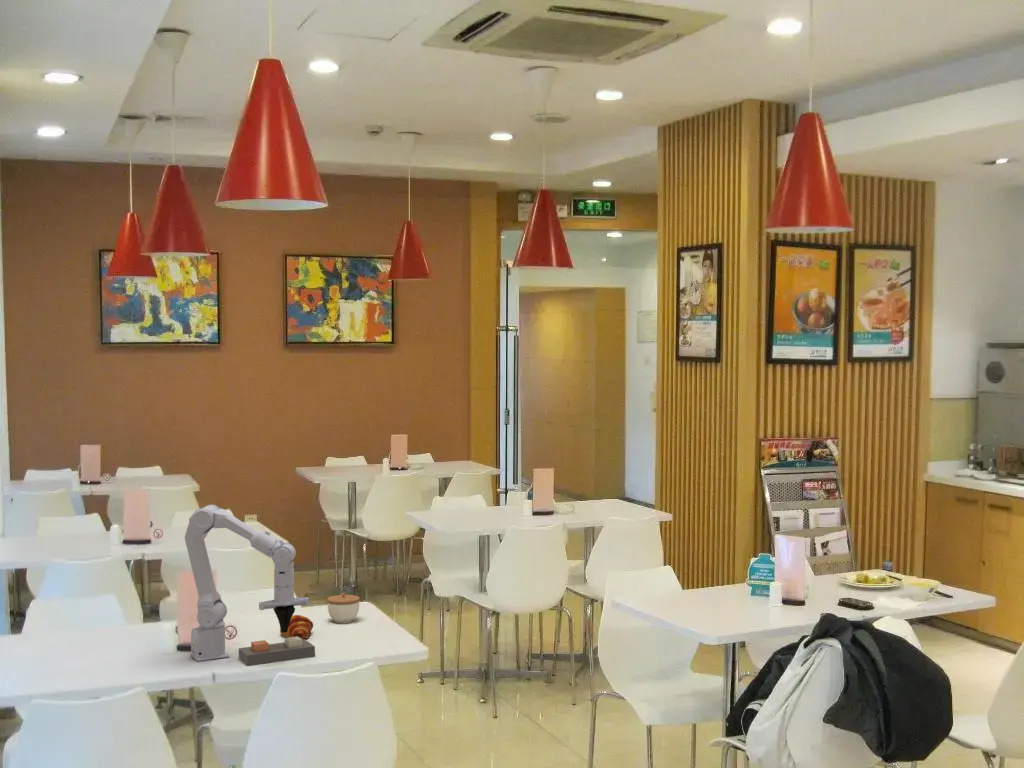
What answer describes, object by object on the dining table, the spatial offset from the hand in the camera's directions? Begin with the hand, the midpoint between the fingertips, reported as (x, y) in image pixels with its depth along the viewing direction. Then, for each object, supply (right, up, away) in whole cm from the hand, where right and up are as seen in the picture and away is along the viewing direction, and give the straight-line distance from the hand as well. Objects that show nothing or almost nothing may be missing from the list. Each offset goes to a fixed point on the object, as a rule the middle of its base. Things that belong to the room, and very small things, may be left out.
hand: (284, 631), depth 314 cm
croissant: (-1, -7, +26) cm, 27 cm away
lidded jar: (+11, -7, +44) cm, 46 cm away
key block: (-2, -7, -1) cm, 8 cm away
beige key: (+2, -5, +1) cm, 6 cm away
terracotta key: (-6, -5, -4) cm, 9 cm away
